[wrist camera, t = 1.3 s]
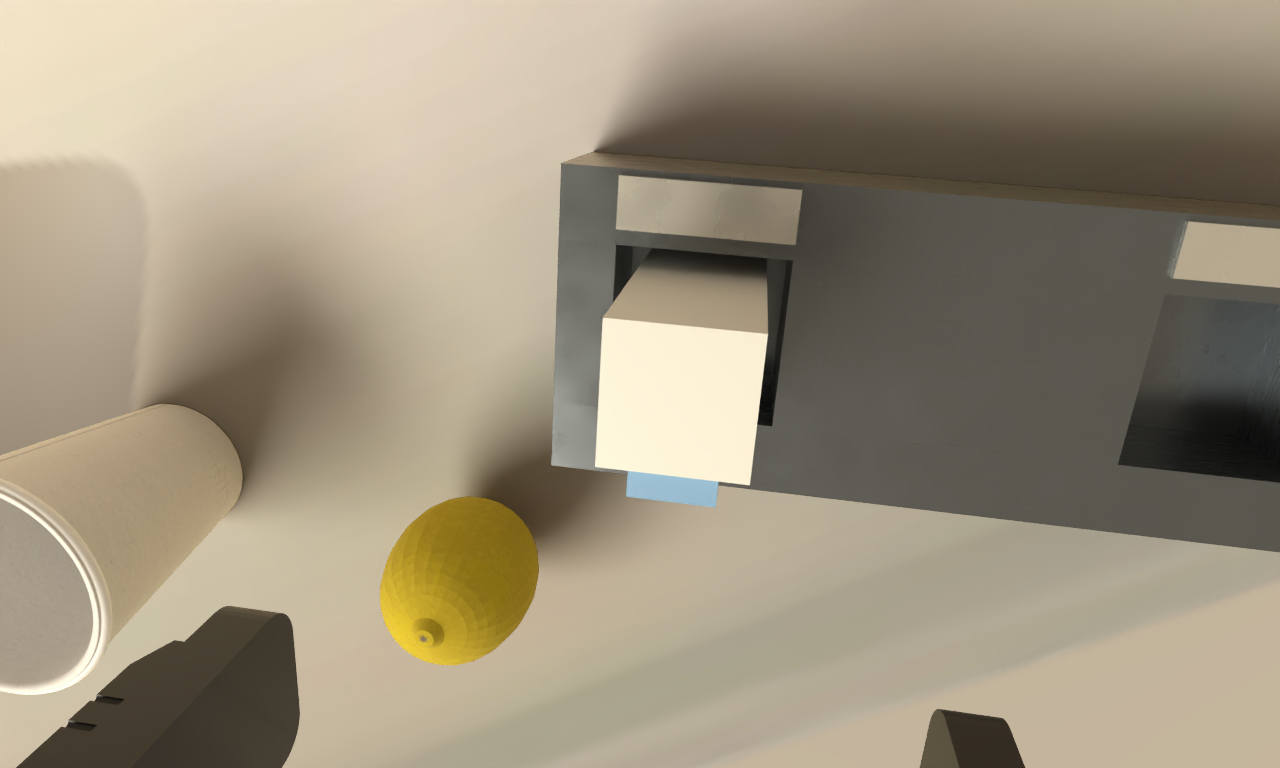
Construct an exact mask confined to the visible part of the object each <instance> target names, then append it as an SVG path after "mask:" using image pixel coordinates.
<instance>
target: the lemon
mask: <svg viewBox="0 0 1280 768" xmlns="http://www.w3.org/2000/svg"><path fill="white" fill-rule="evenodd" d="M538 573H539V564H538V552H537V548H536V545H535V542H534V539H533V537H532V534H531V532H530V531H529V529H528V528H527V526H526V525H525V523H524V522H523V520H522V519H521V518H520V517H519V516H518V515H517V514H515V513H514V512H513V511H512V510H511V509H509V508H508V507H506V506H504V505H503V504H501V503H499V502H496V501H493V500H490V499H487V498H480V497H461V498H455V499H450V500H447V501H445V502H443V503H440V504H438V505H436V506H434V507H432V508H430V509H428V510H427V511H425V512H424V513H423V514H422V515H421V516H419V517H418V518H417V519H416V520H415V521H413V522H412V523H411V524H410V525H409V526H408V527H407V528H406V529H405V531H404V532H403V534H402V535H401V537H400V538H399V540H398V541H397V543H396V544H395V546H394V547H393V549H392V551H391V553H390V555H389V558H388V560H387V563H386V567H385V570H384V574H383V577H382V581H381V586H380V603H381V610H382V614H383V617H384V621H385V624H386V626H387V628H388V630H389V631H390V633H391V635H392V637H393V638H394V639H395V640H396V641H397V642H398V643H399V645H400V646H401V647H402V648H403V649H405V650H406V651H407V652H409V653H410V654H411V655H413V656H414V657H417V658H419V659H421V660H423V661H426V662H430V663H434V664H439V665H458V664H463V663H467V662H471V661H475V660H477V659H479V658H480V657H482V656H484V655H486V654H488V653H490V652H491V651H493V650H494V649H496V648H497V647H498V646H499V645H500V644H501V643H502V642H503V641H504V640H505V639H506V638H507V637H508V636H509V635H510V634H511V633H512V632H513V631H514V630H515V629H516V628H517V627H518V625H519V624H520V622H521V621H522V619H523V617H524V615H525V614H526V612H527V610H528V608H529V606H530V604H531V602H532V600H533V597H534V594H535V590H536V585H537V580H538Z"/></svg>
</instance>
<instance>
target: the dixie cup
mask: <svg viewBox="0 0 1280 768" xmlns="http://www.w3.org/2000/svg"><path fill="white" fill-rule="evenodd" d="M242 482H243V475H242V467H241V463H240V459H239V456H238V454H237V452H236V449H235V448H234V446H233V444H232V442H231V441H230V439H229V438H228V437H227V435H226V434H225V433H224V432H223V431H222V430H221V428H220V427H219V426H217V425H216V424H215V423H214V422H213V421H212V420H210V419H209V418H207V417H206V416H204V415H203V414H201V413H199V412H197V411H195V410H193V409H190V408H187V407H184V406H179V405H173V404H157V405H153V406H149V407H146V408H143V409H140V410H137V411H134V412H131V413H128V414H125V415H122V416H119V417H116V418H113V419H110V420H107V421H104V422H101V423H98V424H95V425H92V426H88V427H86V428H83V429H79V430H76V431H73V432H70V433H67V434H64V435H61V436H58V437H55V438H52V439H49V440H46V441H43V442H40V443H37V444H34V445H31V446H28V447H25V448H21V449H18V450H15V451H12V452H9V453H6V454H3V455H0V691H4V692H9V693H16V694H45V693H51V692H55V691H59V690H62V689H65V688H67V687H69V686H72V685H74V684H75V683H77V682H79V681H80V680H82V679H83V678H84V677H86V676H87V675H88V674H89V673H90V672H91V671H92V670H93V669H94V668H95V667H96V666H97V664H98V663H99V662H100V660H101V659H102V657H103V655H104V653H105V651H106V649H107V646H108V643H109V642H110V641H111V640H112V639H113V638H114V637H115V636H116V635H117V634H118V632H119V631H120V630H121V629H122V628H123V627H124V626H125V625H126V624H127V623H128V621H129V620H130V619H131V618H132V617H133V616H134V615H135V614H136V613H137V612H138V611H139V609H140V608H141V607H142V606H143V605H144V604H145V603H146V602H147V601H148V600H149V598H150V597H151V596H152V595H153V594H154V593H155V592H156V591H157V590H158V589H159V588H160V586H161V585H162V584H163V583H164V582H165V581H166V580H167V579H168V578H169V577H170V575H171V574H172V573H173V572H174V571H175V570H176V569H177V568H178V567H179V566H180V565H181V563H182V562H183V561H184V560H185V559H186V558H187V557H188V556H189V555H190V554H191V552H192V551H193V550H194V549H195V548H196V547H197V546H198V545H199V544H200V543H201V541H202V540H203V539H204V538H205V537H206V536H207V535H208V534H209V533H210V532H211V531H212V529H213V528H214V527H215V526H216V525H217V524H218V523H219V522H220V521H221V520H222V518H223V517H224V516H225V515H226V514H227V513H228V512H229V511H230V510H231V509H232V507H233V506H234V505H235V503H236V502H237V500H238V498H239V496H240V493H241V489H242Z"/></svg>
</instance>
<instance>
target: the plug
mask: <svg viewBox="0 0 1280 768" xmlns="http://www.w3.org/2000/svg"><path fill="white" fill-rule="evenodd" d="M767 338H768V307H767V258H759V257H748V256H737V255H726V254H715V253H704V252H693V251H682V250H670V249H659V248H652V249H651V250H650V252H649V253H648V255H647V256H646V257H645V259H644V260H643V262H642V263H641V264H640V266H639V267H638V269H637V270H636V271H635V273H634V274H633V276H632V277H631V279H630V280H629V281H628V283H627V284H626V286H625V287H624V288H623V290H622V291H621V293H620V294H619V295H618V297H617V298H616V300H615V301H614V302H613V304H612V305H611V307H610V308H609V310H608V311H607V312H606V314H605V315H604V317H603V323H602V342H601V361H600V380H599V400H598V419H597V438H596V457H595V467H600V468H608V469H617V470H625V471H628V476H627V491H626V497H633V498H641V499H650V500H658V501H666V502H674V503H682V504H690V505H699V506H707V507H715V508H716V501H717V492H718V483H719V482H726V483H735V484H743V485H750V480H751V471H752V463H753V455H754V446H755V438H756V430H757V421H758V413H759V405H760V396H761V388H762V380H763V371H764V363H765V355H766V346H767Z"/></svg>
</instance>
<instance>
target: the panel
mask: <svg viewBox="0 0 1280 768" xmlns="http://www.w3.org/2000/svg"><path fill="white" fill-rule="evenodd" d="M652 248H659V249H670V250H682V251H693V252H704V253H715V254H726V255H737V256H748V257H759V258H767V307H768V338H767V346H766V355H765V363H764V371H763V380H762V388H761V396H760V405H759V413H758V421H757V430H756V438H755V446H754V455H753V463H752V471H751V480H750V485H743V484H735V483H726V482H719V483H718V485H720V486H728V487H737V488H745V489H754V490H762V491H770V492H779V493H787V494H796V495H804V496H812V497H821V498H829V499H838V500H846V501H854V502H863V503H871V504H880V505H888V506H896V507H905V508H913V509H922V510H930V511H938V512H947V513H955V514H963V515H972V516H980V517H989V518H997V519H1005V520H1014V521H1022V522H1031V523H1039V524H1047V525H1056V526H1064V527H1073V528H1081V529H1089V530H1098V531H1106V532H1115V533H1123V534H1131V535H1140V536H1148V537H1156V538H1165V539H1173V540H1182V541H1190V542H1198V543H1207V544H1215V545H1224V546H1232V547H1240V548H1249V549H1257V550H1266V551H1274V552H1280V206H1277V205H1264V204H1251V203H1238V202H1226V201H1213V200H1200V199H1187V198H1174V197H1162V196H1149V195H1136V194H1123V193H1111V192H1098V191H1085V190H1072V189H1060V188H1047V187H1034V186H1021V185H1009V184H996V183H983V182H970V181H958V180H945V179H932V178H919V177H907V176H894V175H881V174H868V173H856V172H843V171H830V170H817V169H805V168H792V167H779V166H766V165H753V164H741V163H728V162H715V161H702V160H690V159H677V158H664V157H651V156H639V155H626V154H613V153H600V152H591V153H588V154H585V155H583V156H580V157H577V158H574V159H572V160H569V161H566V162H563V163H561V188H560V218H559V248H558V278H557V309H556V339H555V369H554V399H553V429H552V459H551V465H552V466H561V467H569V468H577V469H586V470H594V471H603V472H611V473H619V474H628V471H625V470H617V469H608V468H600V467H595V457H596V438H597V419H598V400H599V380H600V361H601V342H602V323H603V317H604V315H605V314H606V312H607V311H608V310H609V308H610V307H611V305H612V304H613V302H614V301H615V300H616V298H617V297H618V295H619V294H620V293H621V291H622V290H623V288H624V287H625V286H626V284H627V283H628V281H629V280H630V279H631V277H632V276H633V274H634V273H635V271H636V270H637V269H638V267H639V266H640V264H641V263H642V262H643V260H644V259H645V257H646V256H647V255H648V253H649V252H650V250H651V249H652Z"/></svg>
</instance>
